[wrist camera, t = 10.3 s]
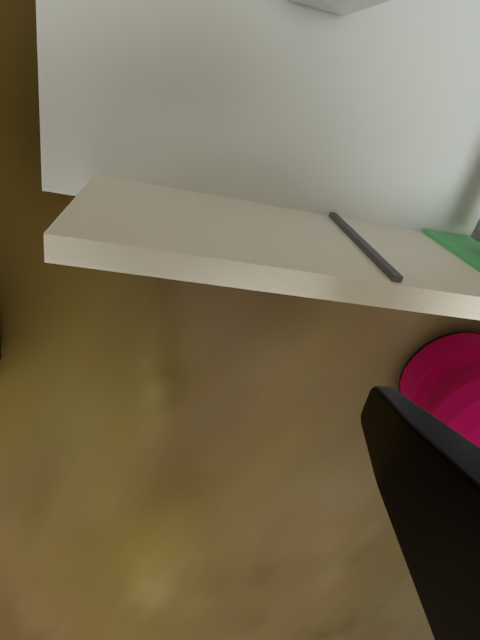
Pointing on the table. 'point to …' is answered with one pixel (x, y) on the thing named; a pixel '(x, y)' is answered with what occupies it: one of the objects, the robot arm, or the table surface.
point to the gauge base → (267, 146)
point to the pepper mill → (448, 382)
